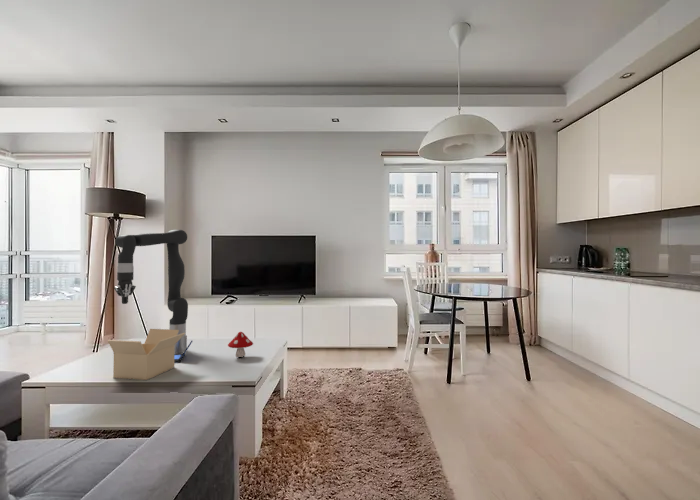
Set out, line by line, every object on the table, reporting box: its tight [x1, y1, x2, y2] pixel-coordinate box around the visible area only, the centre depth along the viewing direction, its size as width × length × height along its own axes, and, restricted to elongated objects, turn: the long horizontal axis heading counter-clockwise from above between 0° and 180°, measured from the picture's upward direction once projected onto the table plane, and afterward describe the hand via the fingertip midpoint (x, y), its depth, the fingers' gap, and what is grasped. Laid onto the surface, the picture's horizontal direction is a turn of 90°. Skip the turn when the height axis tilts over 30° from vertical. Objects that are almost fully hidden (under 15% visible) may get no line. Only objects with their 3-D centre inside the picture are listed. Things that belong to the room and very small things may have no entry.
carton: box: [107, 328, 179, 381], centre depth 182 cm, size 28×19×19 cm, turn 170°
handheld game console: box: [174, 340, 193, 364], centre depth 207 cm, size 16×13×9 cm
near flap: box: [148, 333, 185, 354], centre depth 180 cm, size 19×9×1 cm
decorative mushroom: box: [227, 331, 254, 358], centre depth 210 cm, size 14×14×15 cm
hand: (124, 303), depth 196 cm, fingers closed
